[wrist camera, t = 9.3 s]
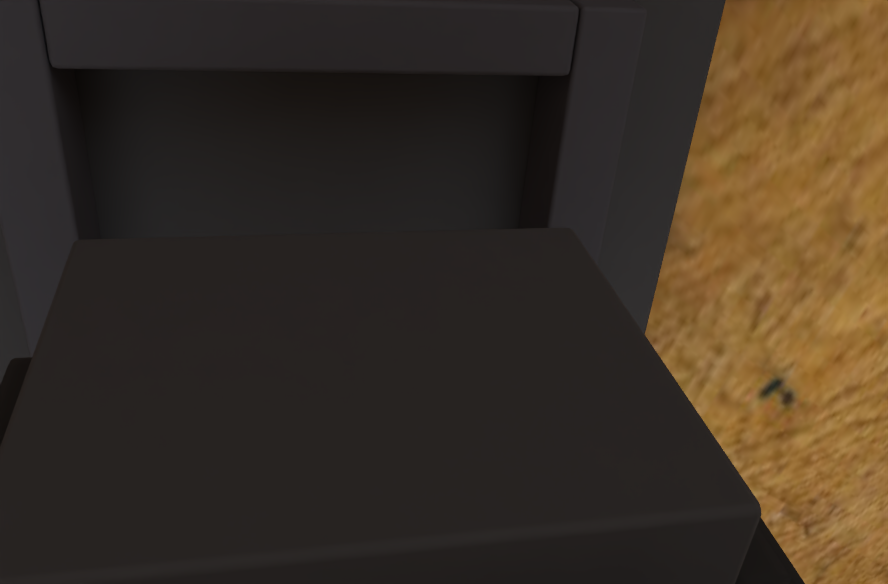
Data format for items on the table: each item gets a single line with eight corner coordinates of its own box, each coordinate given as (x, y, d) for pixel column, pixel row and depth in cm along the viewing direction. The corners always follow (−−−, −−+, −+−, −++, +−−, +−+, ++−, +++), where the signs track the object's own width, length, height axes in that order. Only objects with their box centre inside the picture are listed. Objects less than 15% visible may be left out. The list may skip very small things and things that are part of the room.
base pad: (732, -158, 13) (821, -143, 11) (593, 459, 20) (633, 540, 18) (-207, -230, 11) (-319, -225, 9) (1, 507, 17) (-34, 608, 15)
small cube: (572, 224, 10) (783, 529, 6) (517, 547, 13) (634, 895, 9) (71, 237, 9) (-70, 620, 5) (134, 587, 12) (77, 1004, 8)
